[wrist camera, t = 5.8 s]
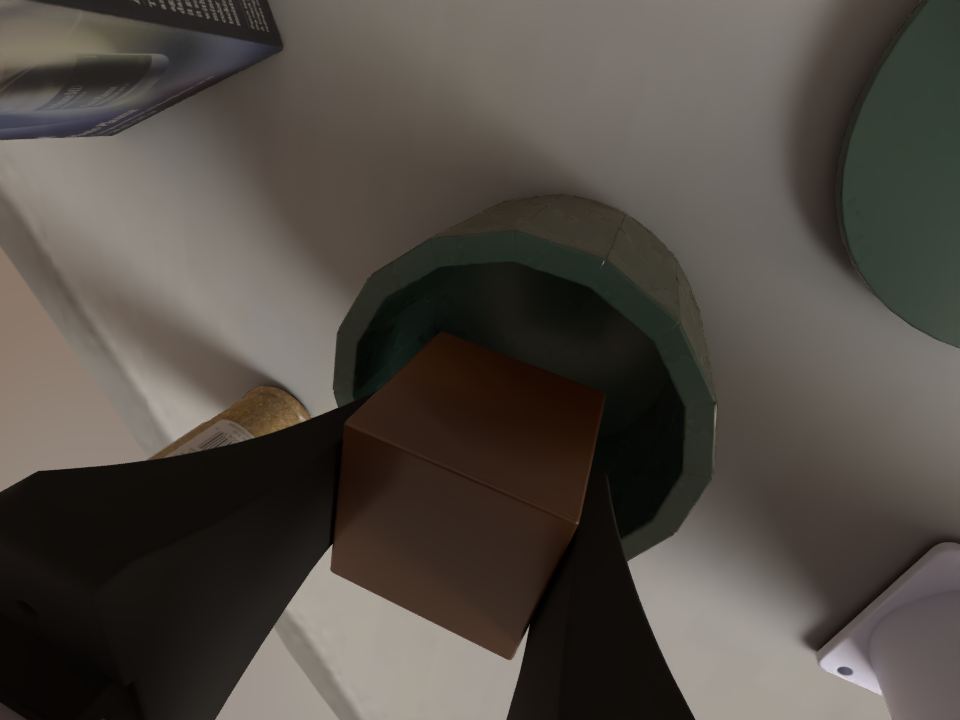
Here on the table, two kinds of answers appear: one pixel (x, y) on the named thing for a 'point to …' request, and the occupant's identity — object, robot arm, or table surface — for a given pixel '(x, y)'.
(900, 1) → the table surface
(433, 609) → the block
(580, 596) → the robot arm
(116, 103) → the small box
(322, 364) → the table surface
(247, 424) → the sprinkles bottle
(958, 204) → the lid
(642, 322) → the green faceted bucket
